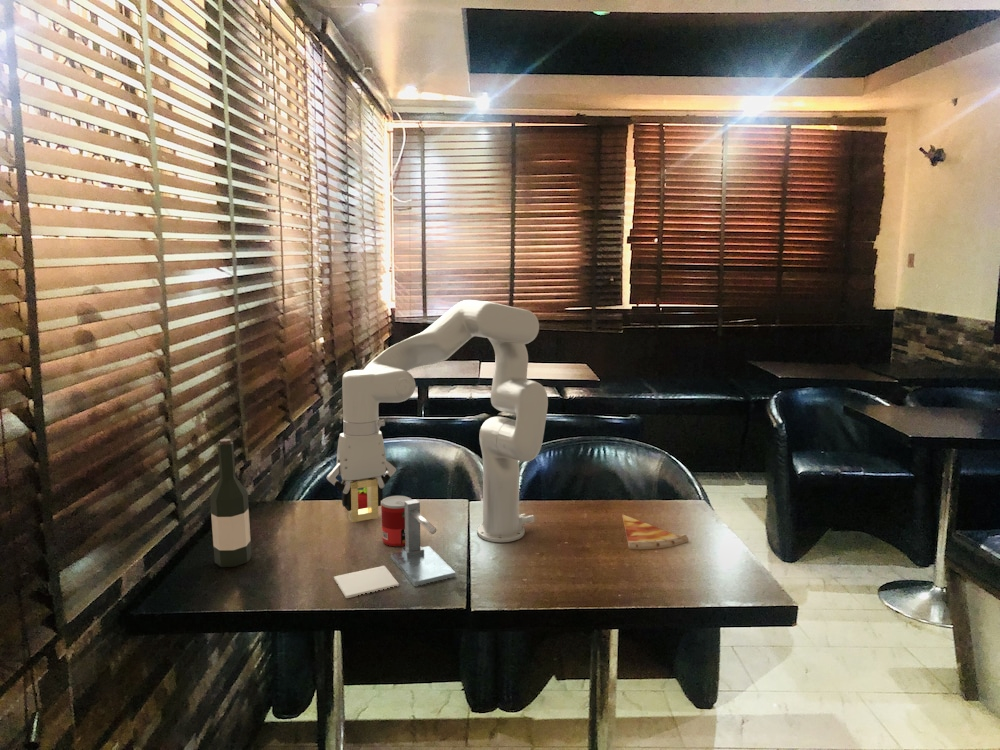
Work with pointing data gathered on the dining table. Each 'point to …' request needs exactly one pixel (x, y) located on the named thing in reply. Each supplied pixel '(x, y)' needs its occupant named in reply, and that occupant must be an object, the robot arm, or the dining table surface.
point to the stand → (419, 551)
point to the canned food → (393, 520)
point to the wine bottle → (229, 513)
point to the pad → (365, 581)
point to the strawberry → (362, 498)
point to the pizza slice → (649, 535)
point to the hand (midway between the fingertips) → (362, 505)
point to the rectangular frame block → (372, 500)
